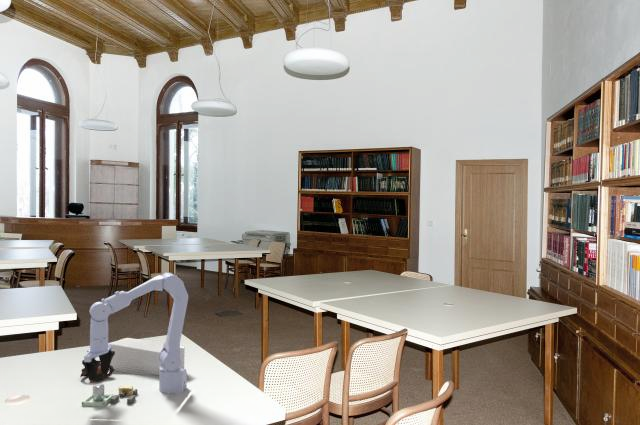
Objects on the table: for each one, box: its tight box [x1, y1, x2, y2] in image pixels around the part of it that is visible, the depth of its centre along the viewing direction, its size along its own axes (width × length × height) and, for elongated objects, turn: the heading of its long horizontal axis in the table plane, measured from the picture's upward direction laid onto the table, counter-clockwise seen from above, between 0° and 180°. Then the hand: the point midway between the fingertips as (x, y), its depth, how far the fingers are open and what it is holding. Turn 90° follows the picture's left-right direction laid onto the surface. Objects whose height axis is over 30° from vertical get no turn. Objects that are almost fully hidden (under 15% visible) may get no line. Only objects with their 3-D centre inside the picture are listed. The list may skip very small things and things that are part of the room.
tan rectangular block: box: [118, 386, 134, 396], centre depth 173 cm, size 4×2×2 cm, turn 89°
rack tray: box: [81, 393, 114, 407], centre depth 166 cm, size 8×7×2 cm
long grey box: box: [108, 337, 185, 376], centre depth 203 cm, size 32×11×11 cm, turn 66°
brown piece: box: [79, 364, 115, 384], centre depth 189 cm, size 12×10×8 cm
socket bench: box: [109, 388, 138, 405], centre depth 170 cm, size 18×17×3 cm
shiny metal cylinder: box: [92, 383, 105, 402], centre depth 166 cm, size 4×4×5 cm
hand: (98, 376), depth 166 cm, fingers open, 7 cm apart
